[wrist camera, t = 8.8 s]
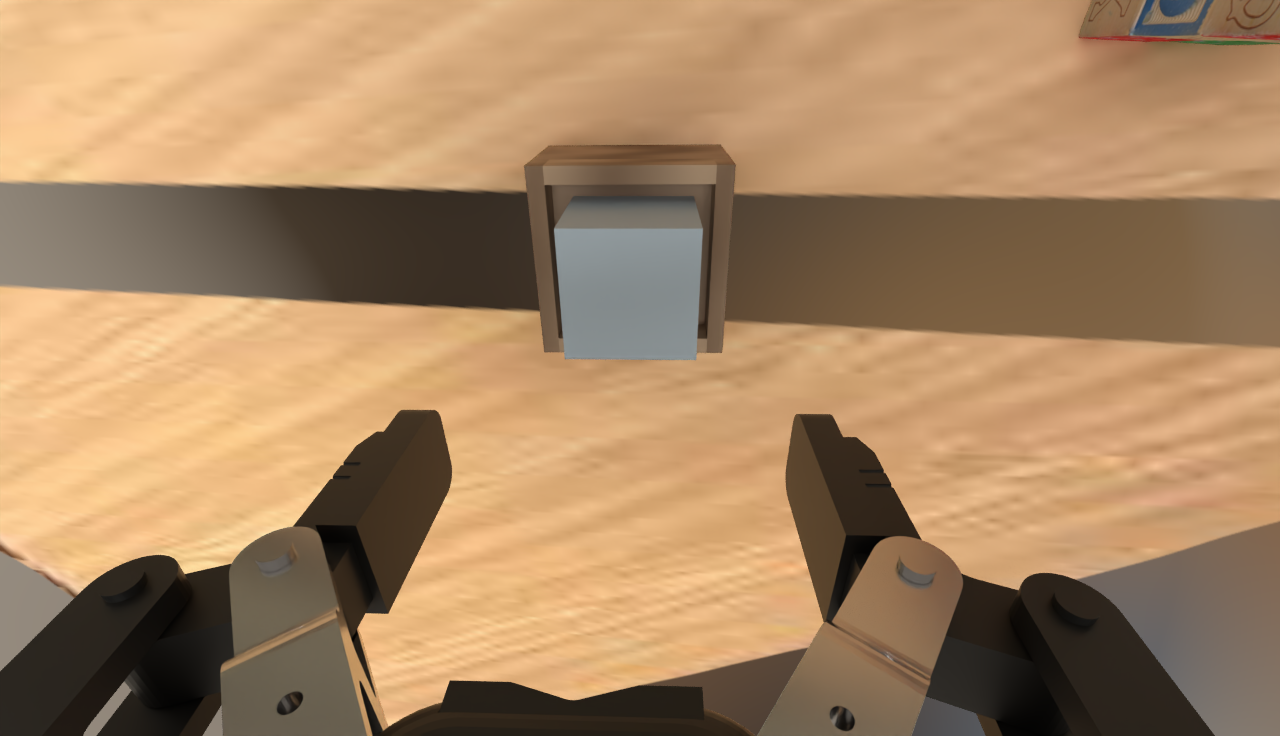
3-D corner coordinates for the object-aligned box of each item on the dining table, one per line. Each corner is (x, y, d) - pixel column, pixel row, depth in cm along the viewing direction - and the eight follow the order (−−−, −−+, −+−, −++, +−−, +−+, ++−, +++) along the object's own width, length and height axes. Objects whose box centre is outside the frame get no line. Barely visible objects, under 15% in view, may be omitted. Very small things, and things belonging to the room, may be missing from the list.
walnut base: (720, 144, 25) (735, 164, 21) (711, 304, 29) (722, 352, 25) (548, 145, 26) (524, 166, 21) (562, 304, 30) (544, 352, 25)
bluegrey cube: (693, 195, 23) (703, 228, 18) (689, 307, 25) (696, 359, 21) (573, 195, 23) (553, 228, 18) (580, 307, 25) (564, 359, 21)
